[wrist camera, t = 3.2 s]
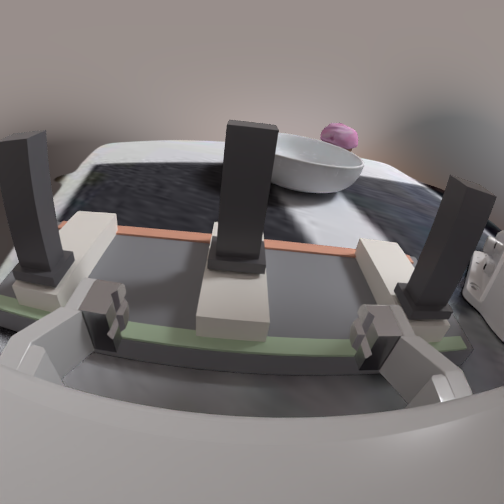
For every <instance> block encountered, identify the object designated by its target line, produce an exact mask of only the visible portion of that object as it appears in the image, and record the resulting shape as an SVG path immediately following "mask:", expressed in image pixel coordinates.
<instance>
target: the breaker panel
mask: <svg viewBox="0 0 504 504" xmlns="http://www.w3.org/2000/svg"><path fill="white" fill-rule="evenodd" d="M57 225H58V230H59V235H60V240H61V244H62V249H63V250H65V251H73V254H74V258H75V261H74V263H73V264H72V265H71V267H70V268H69V270H68V271H67V272H66V274H65V275H64V277H63V278H62V279H61V281H60V282H59V284H58V285H57V287H50V286H45V285H40V284H35V283H30V282H25V281H20V280H15V278H14V275H13V272H12V271H11V272H10V273H9V275H8V276H7V277H6V278H5V279H4V281H3V282H2V283H1V284H0V326H1V327H4V328H7V329H10V330H13V331H16V332H19V331H21V330H23V329H24V328H26V327H28V326H29V325H31V324H33V323H34V322H36V321H38V320H39V319H41V318H43V317H44V316H46V315H48V314H50V313H51V312H53V311H55V310H56V309H58V308H60V307H65V306H66V304H67V302H68V301H69V299H70V297H71V296H72V294H73V292H74V291H75V289H76V288H77V286H78V284H79V283H80V281H81V280H82V279H83V278H85V277H86V278H92V279H99V280H105V281H112V282H118V283H123V284H124V285H125V289H126V294H125V297H124V299H125V300H126V301H127V302H128V305H129V318H128V323H127V326H126V329H124V330H123V331H121V336H122V340H121V342H120V345H119V348H118V350H117V353H116V352H110V351H104V350H98V349H95V350H94V351H93V352H97V353H102V354H106V355H111V356H117V357H122V358H127V359H133V360H139V361H145V362H151V363H158V364H165V365H172V366H179V367H187V368H196V369H205V370H215V371H227V372H239V373H255V374H276V375H356V374H377V373H380V372H379V370H358V367H357V363H356V360H355V357H354V356H355V354H356V352H357V351H356V350H355V349H354V348H353V347H352V346H351V343H350V328H351V326H352V323H353V321H355V320H356V319H357V318H359V316H358V313H357V312H358V310H359V308H360V306H361V305H362V304H370V305H399V306H401V304H400V302H399V300H398V298H397V296H396V294H395V292H394V289H395V287H396V284H397V282H398V283H408V282H409V280H410V277H411V275H412V273H413V271H414V269H415V266H416V264H417V262H418V261H417V260H416V258H415V257H410V256H409V255H405V254H404V252H403V251H402V249H401V248H400V247H399V245H398V244H397V243H394V242H386V241H378V240H371V239H363V238H360V239H359V242H358V245H357V248H356V249H350V248H341V247H332V246H323V245H314V244H304V243H295V242H285V241H276V240H266V239H264V237H263V235H262V241H264V244H265V256H266V269H265V274H257V273H246V272H235V271H225V270H214V269H207V264H208V255H209V250H210V245H211V240H212V236H217V231H218V222H214V227H213V232H212V234H205V233H195V232H184V231H173V230H162V229H151V228H140V227H128V226H117V218H116V214H113V213H99V212H84V211H78V212H77V213H76V214H75V215H74V216H73V217H72V218H71V219H70V220H69V221H63V222H57ZM401 307H402V306H401ZM402 309H403V308H402ZM403 311H404V310H403ZM404 313H405V312H404ZM405 315H406V314H405ZM406 317H407V315H406ZM407 319H408V317H407ZM408 321H409V323H410V325H411V327H412V329H413V331H414V333H415V335H416V336H420V337H421V338H422V339H424V340H425V341H426V342H427V343H429V344H430V345H431V346H432V347H434V348H435V349H436V350H438V351H439V352H440V353H441V354H443V355H444V356H445V357H446V358H448V359H449V360H450V361H451V362H453V363H454V364H455V365H462V364H463V362H464V361H465V360H466V359H467V357H468V356H469V355H470V353H471V352H472V351H473V350H474V349H473V347H472V346H471V344H470V342H469V340H468V339H467V337H466V335H465V333H464V332H463V330H462V328H461V327H460V325H459V323H458V322H457V320H456V318H455V317H454V315H453V313H452V315H451V316H450V318H449V319H439V320H409V319H408Z"/></svg>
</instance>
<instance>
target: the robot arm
mask: <svg viewBox="0 0 504 504" xmlns="http://www.w3.org/2000/svg"><path fill="white" fill-rule="evenodd" d="M483 251H484V252H485V253H484V252H480V251H474V253H473V255H472V257H471V260H470V265H469V269H468V273H467V277H466V281H465V285H464V288H463V292H462V294H463V296H464V298H465V299H466V300H467V301H468V302H469V303H470V304H471V305H472V306H474V307H475V308H476V309H477V310H478V311H479V312H480V313H481V315H482V316H483V317H484V319H485V320H486V322H487V323H488V325H489V326H490V327H491V329H492V330H493V331H494V332H495V333H496V335H497V336H498V337H499V338H500V339H501V340H502V341H503V342H504V230H503V231H501V232H499V233H498V234H497V236H496V237H495V238H493V237H491V236H488V238H487V240H486V242H485V244H484V247H483ZM125 294H126V289H125V285H124V284H123V283H118V282H112V281H105V280H99V279H92V278H86V277H85V278H83V279H82V280H81V281H80V283H79V284H78V286H77V288H76V289H75V291H74V292H73V294H72V296H71V297H70V299H69V301H68V302H67V304H66V306H65V307H60V308H58V309H56V310H55V311H53V312H51V313H50V314H48V315H46V316H44V317H43V318H41V319H39V320H38V321H36V322H34V323H33V324H31V325H29V326H28V327H26V328H24V329H23V330H21V331H19V332H18V333H16V334H15V335H13V336H11V338H10V340H9V341H8V343H7V345H6V346H5V348H4V350H3V352H2V353H1V355H0V504H504V386H501V387H498V388H495V389H491V390H488V391H484V392H481V393H477V394H473V393H472V391H471V388H470V386H469V384H468V382H467V380H466V378H465V376H464V373H463V371H462V370H461V369H460V368H459V367H457V366H456V365H455V364H454V363H453V362H451V361H450V360H449V359H448V358H446V357H445V356H444V355H443V354H441V353H440V352H439V351H438V350H436V349H435V348H434V347H432V346H431V345H430V344H429V343H427V342H426V341H425V340H424V339H422V338H421V337H420V336H416V335H415V333H414V331H413V329H412V327H411V325H410V323H409V321H408V319H407V317H406V315H405V313H404V311H403V309H402V307H401V306H399V305H370V304H362V305H361V306H360V308H359V310H358V312H357V313H358V316H359V318H357V319H356V320H355V321H353V323H352V326H351V328H350V343H351V346H352V347H353V348H354V349H355V350H356V351H357V352H356V354H355V356H354V357H355V360H356V363H357V367H358V370H379V372H380V373H381V374H382V375H383V376H384V377H385V379H386V380H387V381H388V382H389V383H390V384H391V385H392V386H393V388H394V389H395V390H396V391H397V392H398V393H399V394H400V395H401V397H402V398H403V399H404V400H405V401H406V402H407V403H408V405H407V406H406V407H405V408H404V409H399V410H392V411H385V412H376V413H367V414H357V415H345V416H329V417H302V418H270V417H243V416H227V415H215V414H204V413H195V412H187V411H179V410H172V409H165V408H158V407H152V406H147V405H141V404H136V403H130V402H126V401H121V400H116V399H112V398H107V397H103V396H99V395H95V394H91V393H87V392H83V391H79V390H76V389H72V388H69V387H66V386H65V385H64V383H63V381H62V379H63V378H64V377H65V376H66V375H67V374H68V373H69V372H70V371H72V370H73V369H74V368H75V367H76V366H77V365H78V364H80V363H81V362H82V361H83V360H84V359H85V358H86V357H87V356H89V355H90V354H91V353H92V352H93V351H94V350H95V349H98V350H104V351H110V352H116V353H117V350H118V348H119V345H120V342H121V340H122V336H121V331H123V330H124V329H126V326H127V323H128V318H129V305H128V302H127V301H126V300H125V299H124V297H125Z"/></svg>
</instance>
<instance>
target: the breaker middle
mask: <svg viewBox="0 0 504 504" xmlns="http://www.w3.org/2000/svg"><path fill="white" fill-rule="evenodd" d="M278 132H279V130H278V128H277V126H276V125H271V124H263V123H254V122H246V121H236V120H229V121H228V124H227V130H226V139H225V150H224V160H223V171H222V182H221V193H220V206H219V218H218V231H217V236H212V240H211V245H210V250H209V255H208V264H207V269H214V270H225V271H235V272H246V273H257V274H265V269H266V256H265V244H264V241H262V235H263V229H264V223H265V217H266V210H267V204H268V197H269V191H270V185H271V178H272V172H273V165H274V159H275V152H276V146H277V139H278Z"/></svg>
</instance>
